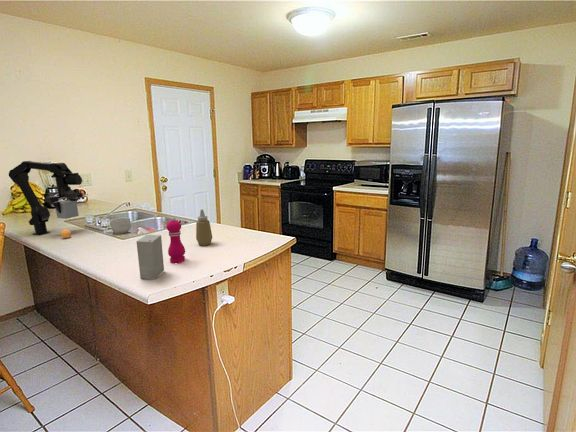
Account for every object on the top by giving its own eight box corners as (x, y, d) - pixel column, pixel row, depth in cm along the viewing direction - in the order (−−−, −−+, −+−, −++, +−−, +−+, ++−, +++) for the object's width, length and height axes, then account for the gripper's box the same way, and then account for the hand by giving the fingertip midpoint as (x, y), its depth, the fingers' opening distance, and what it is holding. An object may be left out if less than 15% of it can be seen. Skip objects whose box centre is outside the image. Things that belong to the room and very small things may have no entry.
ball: (59, 238, 190) (57, 230, 189) (68, 236, 194) (66, 227, 193) (65, 239, 188) (63, 231, 187) (73, 237, 192) (72, 228, 191)
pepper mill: (171, 258, 153) (166, 215, 149) (187, 257, 154) (183, 214, 149) (167, 264, 146) (162, 219, 142) (184, 263, 147) (179, 218, 142)
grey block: (57, 217, 197) (54, 202, 195) (70, 214, 204) (67, 200, 202) (65, 218, 194) (63, 203, 192) (78, 215, 201) (76, 201, 199)
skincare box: (149, 271, 140) (145, 234, 136) (166, 271, 139) (162, 234, 135) (139, 279, 131) (133, 240, 128) (156, 279, 131) (152, 240, 127)
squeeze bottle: (198, 247, 168) (195, 212, 164) (195, 243, 175) (191, 209, 171) (214, 245, 171) (212, 210, 167) (210, 240, 178) (207, 207, 174)
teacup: (123, 235, 194) (121, 221, 192) (107, 234, 196) (105, 221, 194) (138, 228, 207) (137, 216, 205) (123, 228, 209) (121, 215, 207)
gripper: (54, 188, 183) (60, 216, 187) (87, 183, 200) (91, 209, 203) (42, 187, 188) (47, 214, 191) (74, 182, 204) (78, 208, 208)
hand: (67, 211), depth 198 cm, fingers closed on grey block, 8 cm apart
